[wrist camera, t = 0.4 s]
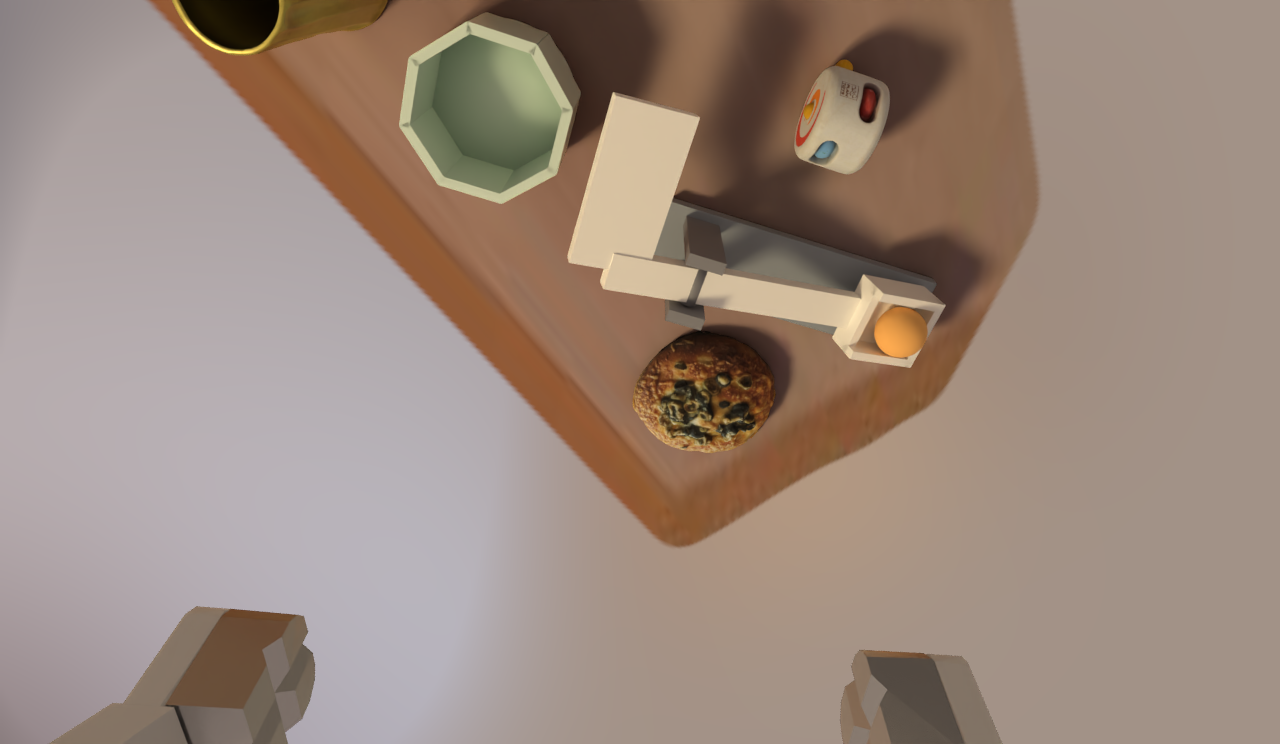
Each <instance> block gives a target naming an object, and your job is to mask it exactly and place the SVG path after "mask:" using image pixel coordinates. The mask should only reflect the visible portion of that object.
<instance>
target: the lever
mask: <svg viewBox="0 0 1280 744" xmlns="http://www.w3.org/2000/svg"><path fill="white" fill-rule="evenodd" d="M699 119H700V117H699V116H698V115H697V114H695V113H691V112H688V111H684V110H680V109H676V108H672V107H669V106H665V105H661V104H657V103H653V102H650V101H646V100H642V99H638V98H635V97H631V96H627V95H623V94H619V93H616V92H613V94H612V97H611V101H610V104H609V108H608V112H607V115H606V119H605V122H604V126H603V130H602V133H601V137H600V141H599V144H598V148H597V151H596V155H595V159H594V162H593V166H592V169H591V173H590V177H589V180H588V184H587V187H586V191H585V195H584V198H583V202H582V205H581V209H580V213H579V216H578V220H577V223H576V227H575V231H574V234H573V238H572V242H571V245H570V249H569V252H568V256H567V258H568V260H569V263H573V264H579V265H585V266H591V267H597V268H602V269H604V270H603V273H602V277H601V280H600V283H601V285H602V287H603V289H606V290H612V291H618V292H625V293H631V294H637V295H643V296H649V297H655V298H662V299H668V300H674V301H680V302H681V303H682V304H684V305H686V306H689V307H695V306H696V304H699V305H705V306H711V307H717V308H723V309H729V310H736V311H742V312H748V313H754V314H760V315H766V316H773V317H779V318H785V319H791V320H797V321H803V322H810V323H816V324H822V325H828V326H834V327H837V329H836V331H835V333H834V335H833V337H832V338H833V340H834V341H835V342H836V343H837V344H838V346H839V347H840V348H841V349H842V350H843V351H844V353H845V354H846V355H847V356H848V357H849V358H850V359H854V360H861V361H868V362H875V363H881V364H888V365H895V366H902V367H909V368H911V366H912V364H913V362H914V361H915V359H916V357H917V355H918V354H919V352H920V350H921V349H920V350H919V351H918V352H917V353H915V354H913V355H911V356H908V357H903V358H898V357H893V356H890V355H888V354H886V353H885V352H883V351H882V350H881V349H880V348H879V346H878V345H877V343H876V340H875V336H874V330H875V325H876V323H877V321H878V319H879V318H880V317H881V315H882V314H884V313H885V312H886V311H888V310H890V309H893V308H897V307H906V308H910V309H913V310H915V311H916V312H918V313H919V314H920V315H921V316H922V317H923V319H924V320H925V322H926V325H927V330H928V335H927V338H928V336H929V334H930V332H931V331H932V329H933V327H934V325H935V324H936V322H937V320H938V318H939V316H940V315H941V313H942V311H943V309H944V308H945V306H946V305H945V304H944V303H943V302H942V301H940V300H939V299H938V298H937V297H936V296H935V295H933V294H932V293H931V292H930V291H929V290H928V289H927V288H925V287H924V286H921V285H916V284H911V283H905V282H900V281H895V280H890V279H885V278H880V277H875V276H870V275H865V274H863V276H862V278H861V280H860V282H859V284H858V286H857V288H856V290H855V292H852V291H847V290H841V289H836V288H830V287H825V286H819V285H814V284H809V283H803V282H798V281H792V280H787V279H781V278H776V277H771V276H765V275H760V274H754V273H749V272H743V271H738V270H733V269H727V268H725V270H724V273H723V276H721V275H718V274H715V273H711V272H708V271H705V270H701V269H698V268H695V267H691V266H688V265H686V264H685V261H684V260H678V259H673V258H668V257H662V256H657V255H654V253H655V250H656V247H657V244H658V241H659V238H660V235H661V232H662V229H663V226H664V223H665V220H666V217H667V214H668V211H669V208H670V205H671V202H672V199H673V196H674V193H675V190H676V187H677V185H678V182H679V179H680V176H681V173H682V170H683V167H684V164H685V161H686V158H687V155H688V152H689V149H690V146H691V143H692V140H693V137H694V134H695V131H696V128H697V125H698V122H699Z"/></svg>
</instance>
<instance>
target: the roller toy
mask: <svg viewBox="0 0 1280 744" xmlns="http://www.w3.org/2000/svg"><path fill="white" fill-rule="evenodd" d="M889 105H890V93H889V89H888V87H887V85H886V84H885V83H883V82H882V81H879V80H877V79H874V78H871V77H869V76H866V75H863V74H860V73H857V72H854V71H853V66H852V64H851V62H849V61H848V60H840V61H839V62H838V63H837V64H836V65H835V66H831V67H828V68H827V69H825V70H824V71H823V72H822V73H821V74H820V76H819V77H818V79H817V80H816V81H815V83H814V85H813V87H812V89H811V91H810V93H809V95H808V97H807V99H806V102H805V104H804V107H803V109H802V112H801V115H800V118H799V121H798V125H797V129H796V134H795V142H794V147H795V152H796V154H797V156H798V157H799V158H800V159H802V160H804V161H807V162H810V163H813V164H815V165H818V166H821V167H824V168H827V169H830V170H833V171H836V172H839V173H843V174H852V173H854V172H856V171H858V170H859V169H860V168H862V167H863V166H864V164H865V163H866V162H867V161H868V159H869V158H870V156H871V155H872V153H873V151H874V149H875V148H876V146H877V144H878V142H879V139H880V137H881V135H882V132H883V129H884V126H885V123H886V120H887V116H888V111H889Z"/></svg>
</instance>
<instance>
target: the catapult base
mask: <svg viewBox="0 0 1280 744" xmlns="http://www.w3.org/2000/svg"><path fill="white" fill-rule="evenodd" d="M654 255H657V256H662V257H668V258H673V259H678V260H684V261H685V264H686V265H688V266H691V267H695V268H698V269H701V270H705V271H708V272H711V273H715V274H718V275H721V276H723V273H724V270H725V268H727V269H733V270H738V271H743V272H749V273H754V274H760V275H765V276H771V277H776V278H781V279H787V280H792V281H798V282H803V283H809V284H814V285H819V286H825V287H830V288H836V289H841V290H847V291H852V292H855V290H856V288H857V286H858V284H859V282H860V280H861V278H862V276H863V274H865V275H870V276H875V277H880V278H885V279H890V280H895V281H900V282H905V283H911V284H916V285H921V286H924V287H925V288H927V289H928V290H929V291H930V292H931V293H932V292H933V290H934V288H935V287H936V285H937V284H936V282H935V281H934V280H933V278H930V277H926V276H923V275H920V274H917V273H913V272H910V271H907V270H904V269H901V268H897V267H894V266H891V265H888V264H884V263H881V262H878V261H875V260H872V259H868V258H865V257H862V256H859V255H855V254H852V253H849V252H846V251H843V250H839V249H836V248H833V247H830V246H826V245H823V244H820V243H817V242H814V241H810V240H807V239H804V238H801V237H797V236H794V235H791V234H788V233H785V232H781V231H778V230H775V229H772V228H768V227H765V226H762V225H759V224H756V223H752V222H749V221H746V220H743V219H740V218H736V217H733V216H730V215H727V214H723V213H720V212H717V211H714V210H711V209H707V208H704V207H701V206H698V205H694V204H691V203H688V202H685V201H682V200H678V199H675V198H673V199H672V202H671V205H670V208H669V211H668V214H667V217H666V220H665V223H664V226H663V229H662V232H661V235H660V238H659V241H658V244H657V247H656V250H655V253H654ZM771 317H773V316H771ZM775 318H778V319H782V320H785V321H788V322H792V323H795V324H798V325H802V326H805V327H809V328H812V329H815V330H819V331H822V332H826V333H829V334H832V335H834V333H835V331H836V329H837V327H834V326H828V325H822V324H816V323H810V322H803V321H797V320H791V319H785V318H779V317H775ZM665 321H669V322H672V323H676V324H679V325H683V326H686V327H690V328H693V329H697V330H700V331H701V329H702V326H703V324H704V321H705V316H704V307H703V305H699V304H696V306H695V307H689V306H686V305H684V304H682V303H681V302H680V301H674V300H668V299H665Z"/></svg>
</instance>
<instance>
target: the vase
mask: <svg viewBox="0 0 1280 744" xmlns="http://www.w3.org/2000/svg"><path fill="white" fill-rule="evenodd" d="M387 1H388V0H172V2H173V4H174V6H175V8H176V10H177V12H178V14H179V15H180V17H181V19H182V20H183V21H184V23H185V24H186V25H187V27H188V28H189V29H190V30H191V31H192V32H193V33H194V34H195V35H196V36H197V37H198V38H199V39H200V40H202V41H203V42H204V43H205V44H207V45H208V46H210V47H212V48H214V49H216V50H218V51H221V52H224V53H227V54H231V55H254V54H259V53H262V52H264V51H267V50H271V49H274V48H277V47H280V46H282V45H285V44H288V43H292V42H296V41H300V40H303V39H307V38H310V37H313V36H316V35H318V34H323V33H331V32H336V31H354V30H359V29H362V28H365V27H367V26H369V25H371V24H372V23H374V22H375V21H376V20H377V18H378V17H379V16H380V15H381V13H382V12H383V10H384V8H385V6H386V4H387Z"/></svg>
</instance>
